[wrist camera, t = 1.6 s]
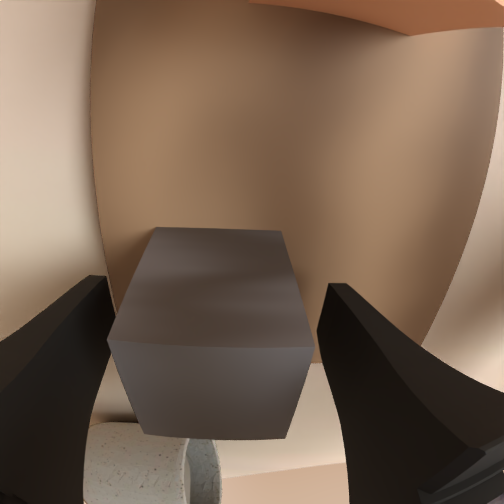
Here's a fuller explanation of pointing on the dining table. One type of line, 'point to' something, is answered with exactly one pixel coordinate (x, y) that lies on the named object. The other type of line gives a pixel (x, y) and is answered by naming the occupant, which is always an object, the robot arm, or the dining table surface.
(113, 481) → the ceramic mug
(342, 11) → the cube
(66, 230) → the dining table surface
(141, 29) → the thin brown board
